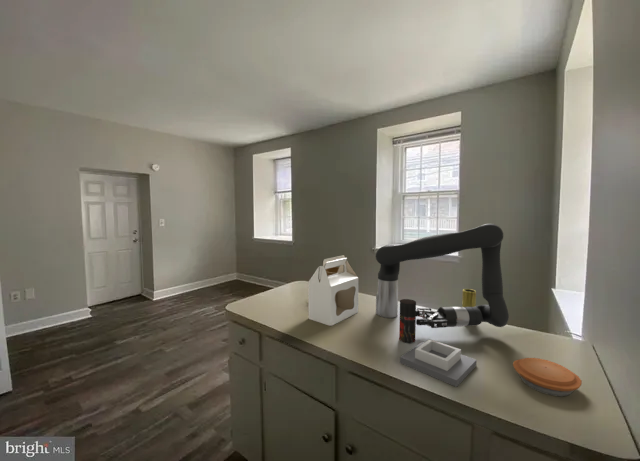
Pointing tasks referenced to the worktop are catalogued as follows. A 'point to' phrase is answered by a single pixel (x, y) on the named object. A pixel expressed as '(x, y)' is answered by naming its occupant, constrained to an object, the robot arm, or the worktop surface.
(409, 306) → the deodorant
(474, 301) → the vase
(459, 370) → the grey white socket base
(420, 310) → the robot arm
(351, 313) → the gable box
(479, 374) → the worktop surface
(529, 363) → the pie
